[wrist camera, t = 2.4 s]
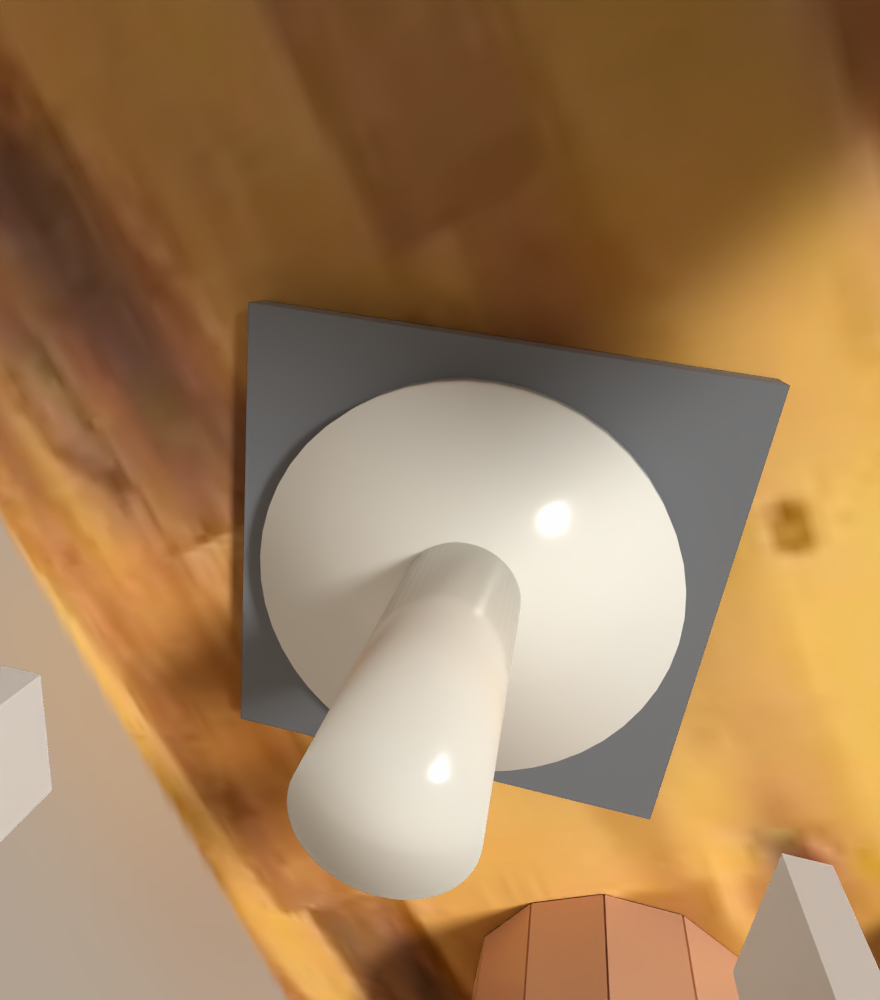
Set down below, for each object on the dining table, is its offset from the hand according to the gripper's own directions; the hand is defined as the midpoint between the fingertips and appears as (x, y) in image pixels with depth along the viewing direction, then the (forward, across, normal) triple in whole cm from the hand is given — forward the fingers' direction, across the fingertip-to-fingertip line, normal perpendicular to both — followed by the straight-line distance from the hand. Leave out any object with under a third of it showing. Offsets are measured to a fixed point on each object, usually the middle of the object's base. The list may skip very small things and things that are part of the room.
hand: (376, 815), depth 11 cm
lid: (+8, 0, 0) cm, 9 cm away
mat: (+10, 0, 0) cm, 10 cm away
